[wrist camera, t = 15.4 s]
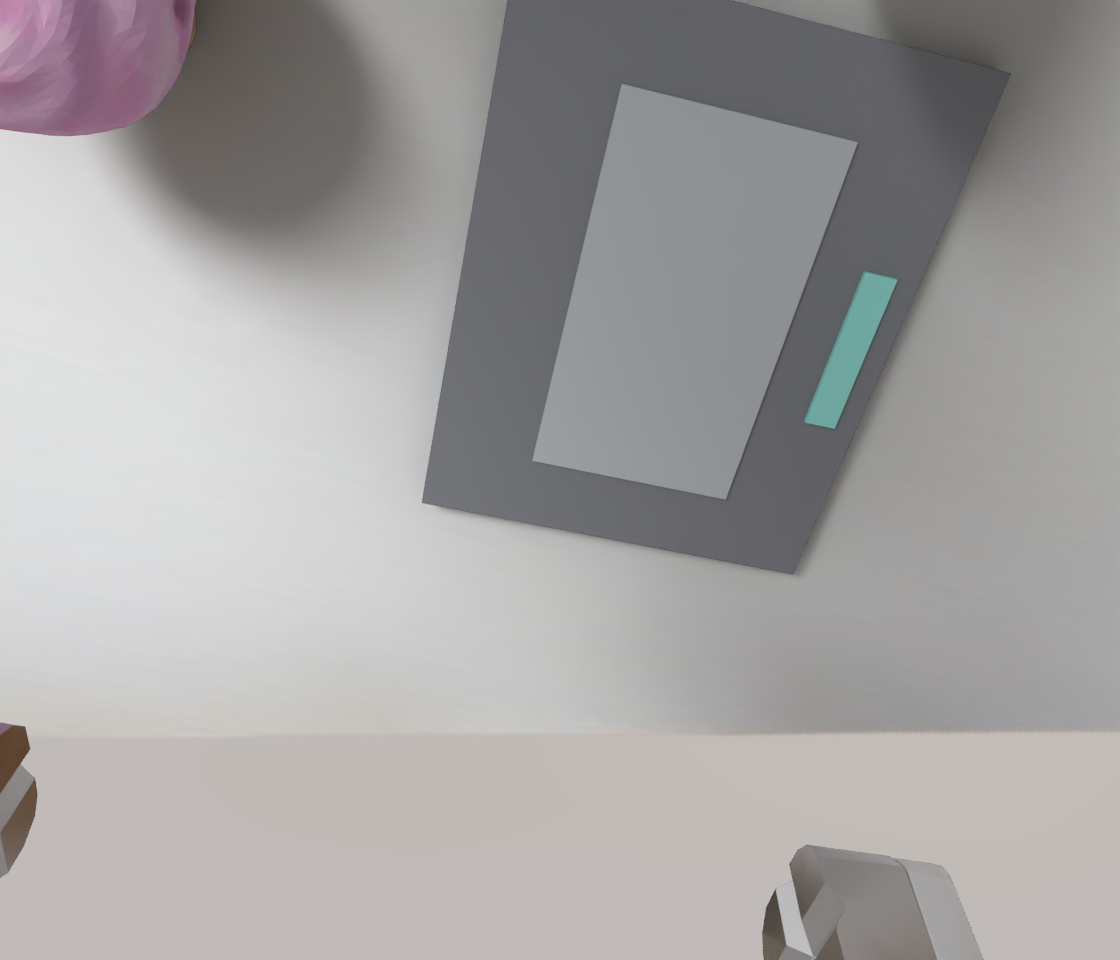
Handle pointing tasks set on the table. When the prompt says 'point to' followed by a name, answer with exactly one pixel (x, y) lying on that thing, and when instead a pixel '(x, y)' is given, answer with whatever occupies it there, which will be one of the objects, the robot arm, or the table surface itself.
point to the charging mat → (690, 267)
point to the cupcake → (89, 62)
